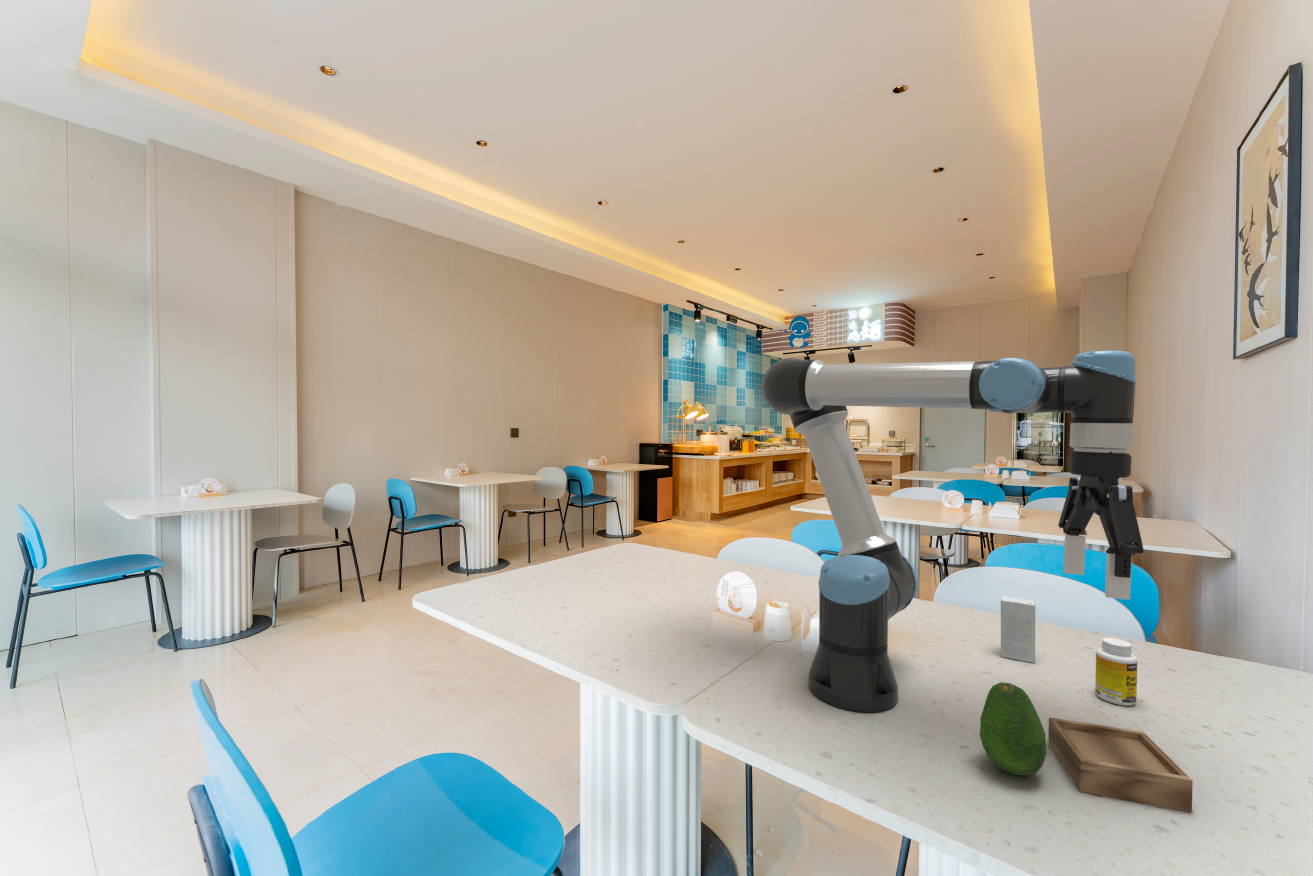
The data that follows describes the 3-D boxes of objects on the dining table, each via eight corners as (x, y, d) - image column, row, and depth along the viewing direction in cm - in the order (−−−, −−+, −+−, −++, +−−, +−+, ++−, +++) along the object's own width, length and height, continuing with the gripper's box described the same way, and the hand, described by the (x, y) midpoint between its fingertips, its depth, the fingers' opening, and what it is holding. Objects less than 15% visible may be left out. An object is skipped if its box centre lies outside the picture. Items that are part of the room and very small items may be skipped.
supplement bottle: (1130, 710, 91) (1131, 650, 91) (1090, 697, 96) (1091, 639, 96) (1141, 701, 94) (1142, 643, 94) (1102, 688, 99) (1102, 633, 99)
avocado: (974, 749, 79) (975, 668, 79) (1038, 762, 76) (1039, 678, 76) (984, 781, 72) (985, 693, 72) (1054, 797, 69) (1056, 704, 69)
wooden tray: (1080, 791, 70) (1080, 761, 70) (1048, 743, 81) (1048, 717, 81) (1191, 812, 67) (1192, 780, 66) (1142, 759, 77) (1143, 731, 77)
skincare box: (1034, 656, 113) (1035, 599, 113) (1035, 664, 109) (1036, 605, 109) (999, 650, 116) (1000, 595, 116) (999, 657, 113) (1000, 600, 112)
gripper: (1182, 455, 71) (1174, 614, 72) (1088, 448, 95) (1083, 567, 96) (1114, 453, 73) (1107, 607, 74) (1039, 447, 97) (1034, 563, 98)
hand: (1093, 585), depth 85 cm, fingers open, 13 cm apart
